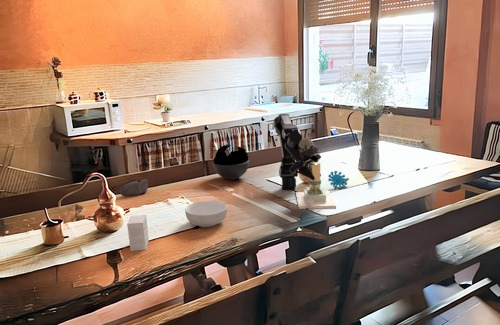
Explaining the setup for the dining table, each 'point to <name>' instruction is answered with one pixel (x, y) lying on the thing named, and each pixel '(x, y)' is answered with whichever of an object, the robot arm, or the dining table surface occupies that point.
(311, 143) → the decorative egg
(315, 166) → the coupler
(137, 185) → the perforated stone tool
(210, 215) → the cereal bowl
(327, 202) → the shaft mount
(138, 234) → the small box
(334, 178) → the teal spiky figurine
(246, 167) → the coal bowl
